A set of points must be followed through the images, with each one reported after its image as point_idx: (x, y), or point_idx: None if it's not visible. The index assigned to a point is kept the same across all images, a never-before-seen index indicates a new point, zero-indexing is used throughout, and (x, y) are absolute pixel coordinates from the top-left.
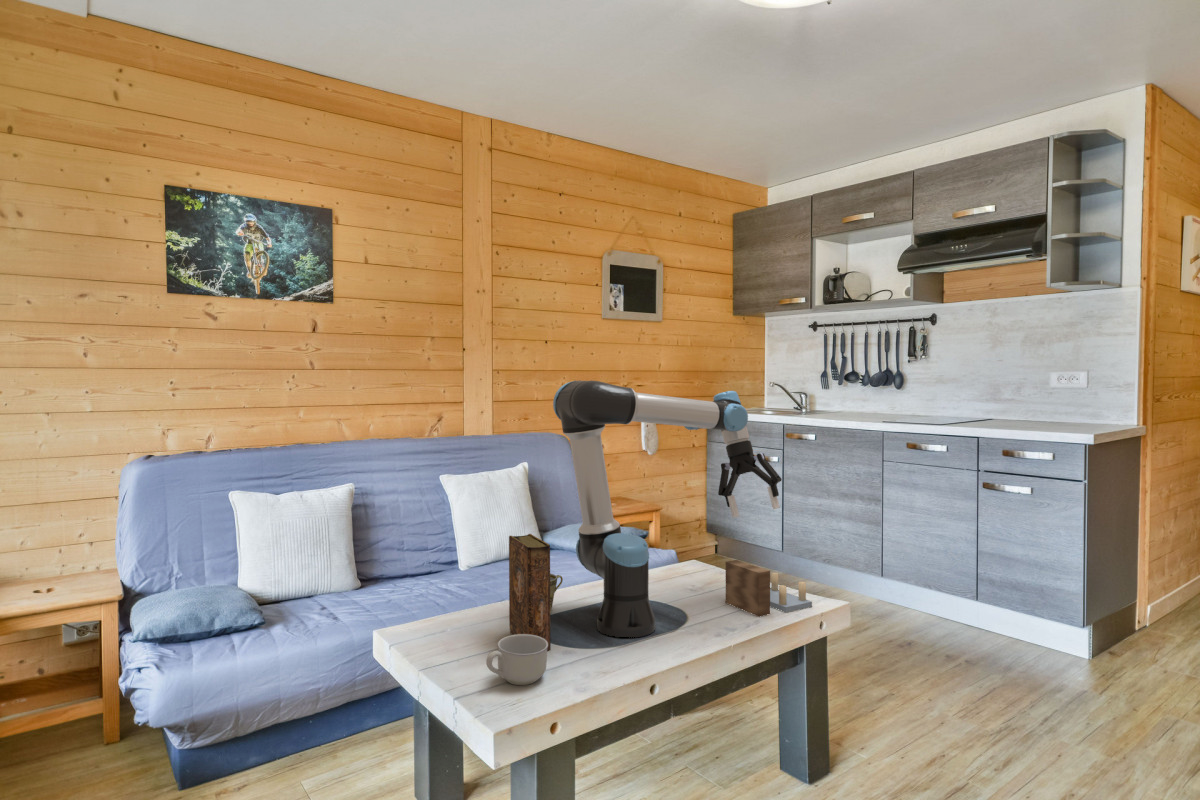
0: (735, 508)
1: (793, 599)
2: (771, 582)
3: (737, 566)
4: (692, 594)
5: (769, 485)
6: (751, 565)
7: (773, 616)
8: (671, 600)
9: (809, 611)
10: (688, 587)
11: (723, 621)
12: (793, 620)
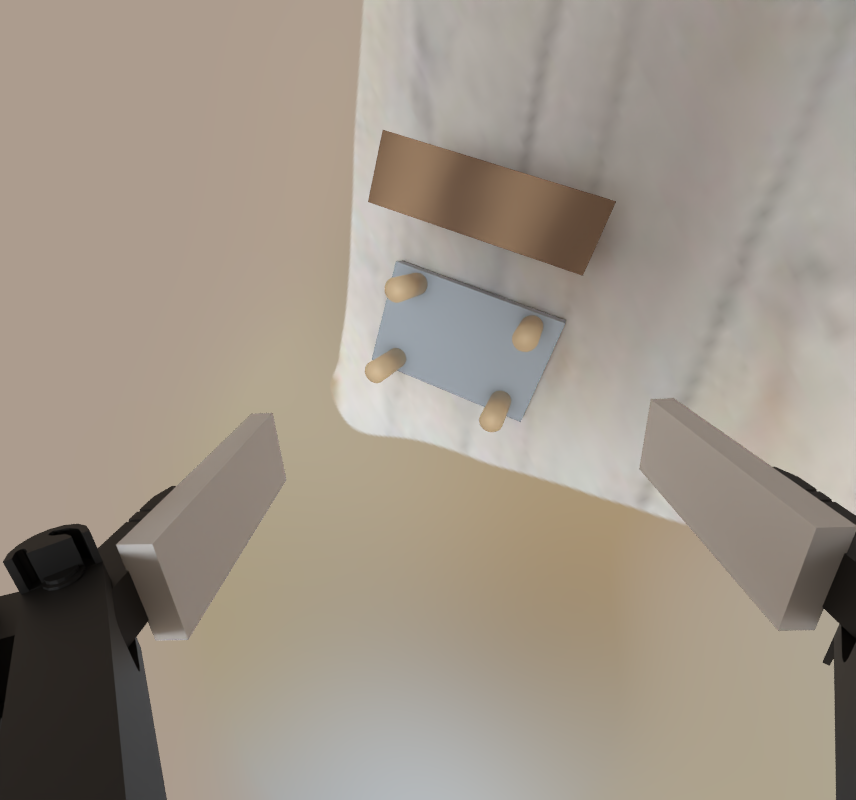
0: (684, 482)
1: (415, 346)
2: (504, 403)
3: (524, 173)
4: (781, 214)
5: (84, 537)
6: (472, 229)
7: None
8: (848, 55)
9: (364, 315)
10: (846, 291)
11: (508, 6)
12: (356, 210)
